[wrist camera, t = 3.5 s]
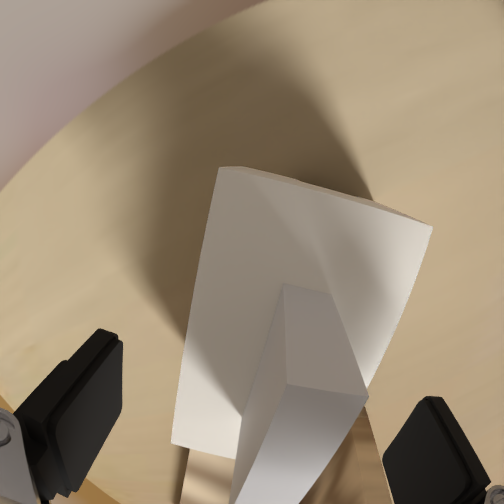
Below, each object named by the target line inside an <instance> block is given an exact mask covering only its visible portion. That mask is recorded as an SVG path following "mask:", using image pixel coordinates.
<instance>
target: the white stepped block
mask: <svg viewBox="0 0 504 504" xmlns="http://www.w3.org/2000/svg"><path fill="white" fill-rule="evenodd" d="M432 229H433V226H430V225H428V224H426V223H424V222H422V221H419V220H417V219H415V218H412V217H410V216H408V215H406V214H403V213H401V212H399V211H396V210H394V209H392V208H389V207H387V206H384V205H382V204H379V203H377V202H375V201H372V200H368V199H365V198H362V197H358V196H356V197H355V196H351V195H348V194H344V193H341V192H337V191H334V190H330V189H327V188H323V187H320V186H316V185H312V184H309V183H305V182H301V181H299V180H297V179H294V178H290V177H286V176H282V175H278V174H274V173H270V172H266V171H262V170H258V169H253V168H249V167H245V166H232V167H219V169H218V173H217V178H216V182H215V187H214V192H213V196H212V201H211V206H210V210H209V215H208V220H207V225H206V230H205V235H204V240H203V245H202V250H201V255H200V260H199V265H198V271H197V276H196V281H195V287H194V292H193V298H192V303H191V309H190V315H189V321H188V327H187V333H186V339H185V345H184V352H183V358H182V364H181V371H180V378H179V385H178V392H177V399H176V406H175V414H174V421H173V429H172V437H171V443H172V444H175V445H179V446H182V447H186V448H190V449H193V450H197V451H201V452H205V453H209V454H213V455H218V456H222V457H227V458H231V459H236V460H235V466H234V473H233V479H232V485H231V492H230V498H229V504H299V503H300V501H301V500H302V499H303V497H304V496H305V495H306V493H307V492H308V491H309V489H310V488H311V487H312V485H313V484H314V483H315V481H316V480H317V478H318V477H319V476H320V474H321V473H322V471H323V470H324V469H325V467H326V466H327V464H328V463H329V461H330V460H331V458H332V457H333V455H334V454H335V452H336V451H337V449H338V448H339V446H340V445H341V443H342V441H343V440H344V438H345V437H346V435H347V433H348V432H349V430H350V429H351V427H352V425H353V424H354V422H355V420H356V419H357V417H358V415H359V413H360V412H361V410H362V408H363V406H364V405H365V403H366V401H367V399H368V397H369V395H368V392H367V387H368V385H369V383H370V382H371V380H372V378H373V376H374V374H375V372H376V370H377V368H378V366H379V364H380V362H381V360H382V357H383V355H384V353H385V351H386V349H387V347H388V345H389V342H390V340H391V338H392V336H393V334H394V331H395V329H396V327H397V324H398V322H399V320H400V317H401V315H402V313H403V310H404V308H405V305H406V303H407V300H408V298H409V295H410V293H411V290H412V288H413V285H414V282H415V280H416V277H417V274H418V271H419V269H420V266H421V263H422V260H423V257H424V254H425V251H426V248H427V245H428V242H429V239H430V236H431V232H432Z"/></svg>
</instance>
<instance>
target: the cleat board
mask: <svg viewBox="0 0 504 504" xmlns="http://www.w3.org/2000/svg"><path fill="white" fill-rule="evenodd" d="M235 460H236V459H231V458H227V457H222V456H218V455H213V454H209V453H205V452H201V451H197V450H193V449H190V452H189V457H188V462H187V467H186V473H185V478H184V483H183V489H182V494H181V500H180V504H229V498H230V492H231V485H232V479H233V473H234V466H235ZM299 504H392V502H391V498H390V494H389V490H388V486H387V482H386V478H385V475H384V471H383V467H382V464H381V460H380V456H379V453H378V449H377V446H376V442H375V439H374V435H373V432H372V429H371V425H370V422H369V419H368V415H367V412H366V409H365V407H363V408H362V410H361V412H360V413H359V415H358V417H357V419H356V420H355V422H354V424H353V425H352V427H351V429H350V430H349V432H348V433H347V435H346V437H345V438H344V440H343V441H342V443H341V445H340V446H339V448H338V449H337V451H336V452H335V454H334V455H333V457H332V458H331V460H330V461H329V463H328V464H327V466H326V467H325V469H324V470H323V471H322V473H321V474H320V476H319V477H318V478H317V480H316V481H315V483H314V484H313V485H312V487H311V488H310V489H309V491H308V492H307V493H306V495H305V496H304V497H303V499H302V500H301V501H300V503H299Z"/></svg>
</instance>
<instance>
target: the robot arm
mask: <svg viewBox="0 0 504 504" xmlns="http://www.w3.org/2000/svg"><path fill="white" fill-rule="evenodd" d="M122 362H123V342H122V341H121V340H118V335H117V334H115V333H112V332H109V331H106V330H104V329H101V328H100V329H98V330H96V331H95V332H94V333H93V335H92V336H91V337H90V338H89V339H88V340H87V341H86V342H85V343H84V344H83V345H82V346H81V347H80V348H79V349H78V350H77V351H76V352H75V353H74V354H73V355H72V357H71V358H70V359H69V360H68V361H67V360H64V361H62V362H60V363H59V364H58V365H57V366H56V367H55V368H54V369H53V371H52V372H51V373H50V374H49V375H48V376H47V377H46V378H45V379H44V380H43V381H42V382H41V383H40V384H39V386H38V387H37V388H36V389H35V390H34V391H33V392H32V393H31V394H30V395H29V396H28V397H27V399H26V400H25V401H24V402H23V403H22V404H21V405H20V406H19V407H18V409H17V410H16V411H15V412H14V413H13V414H12V413H10V412H9V411H7V410H4V409H2V408H0V504H52V503H51V500H52V499H54V497H55V495H56V493H59V494H61V495H63V496H65V497H67V498H68V496H69V495H70V493H71V491H73V492H77V491H78V490H79V488H80V486H81V485H82V483H83V481H84V479H85V477H86V475H87V473H88V471H89V470H90V468H91V466H92V464H93V462H94V460H95V458H96V457H97V455H98V453H99V451H100V449H101V448H102V446H103V444H104V442H105V440H106V438H107V437H108V435H109V433H110V431H111V429H112V428H113V426H114V424H115V422H116V420H117V419H118V417H119V415H120V413H121V409H122ZM382 462H383V466H384V469H385V472H386V476H387V479H388V482H389V486H390V489H391V493H392V496H393V500H394V503H395V504H504V486H501V485H495V486H492V487H491V488H490V489H489V490H488V491H487V492H486V490H485V488H486V487H487V486H488V485H489V484H490V483H491V481H490V479H489V477H488V475H487V473H486V471H485V469H484V467H483V466H482V464H481V462H480V460H479V458H478V457H477V455H476V453H475V451H474V449H473V448H472V446H471V444H470V442H469V441H468V439H467V437H466V436H465V434H464V432H463V430H462V429H461V427H460V425H459V424H458V422H457V420H456V419H455V417H454V415H453V414H452V412H451V410H450V409H449V407H448V406H447V404H446V402H445V401H444V399H443V398H442V397H435V396H426V397H424V398H423V399H422V400H421V401H419V402H418V404H417V405H416V407H415V408H414V410H413V412H412V413H411V415H410V416H409V418H408V419H407V421H406V422H405V424H404V425H403V427H402V428H401V430H400V431H399V433H398V434H397V436H396V437H395V439H394V440H393V441H392V443H391V444H390V446H389V447H388V448H387V450H386V451H385V452H384V454H383V458H382Z"/></svg>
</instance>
